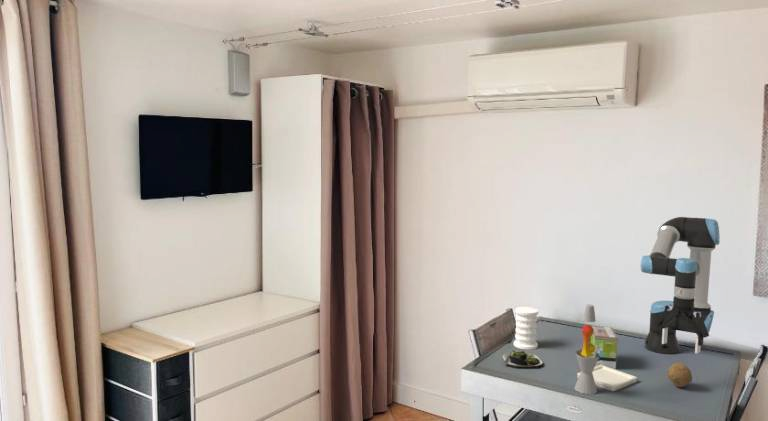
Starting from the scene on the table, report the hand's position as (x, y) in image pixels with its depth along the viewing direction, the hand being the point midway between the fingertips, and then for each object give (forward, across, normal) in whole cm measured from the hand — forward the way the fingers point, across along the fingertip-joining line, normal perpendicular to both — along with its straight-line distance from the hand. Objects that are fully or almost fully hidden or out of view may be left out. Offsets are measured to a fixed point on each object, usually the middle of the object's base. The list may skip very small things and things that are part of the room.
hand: (680, 348), depth 239 cm
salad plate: (+17, -55, -32) cm, 66 cm away
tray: (+16, -21, -18) cm, 32 cm away
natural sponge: (+16, 0, 0) cm, 17 cm away
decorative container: (+16, -69, -13) cm, 72 cm away
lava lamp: (+17, -20, -34) cm, 43 cm away
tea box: (+16, -34, -2) cm, 38 cm away
